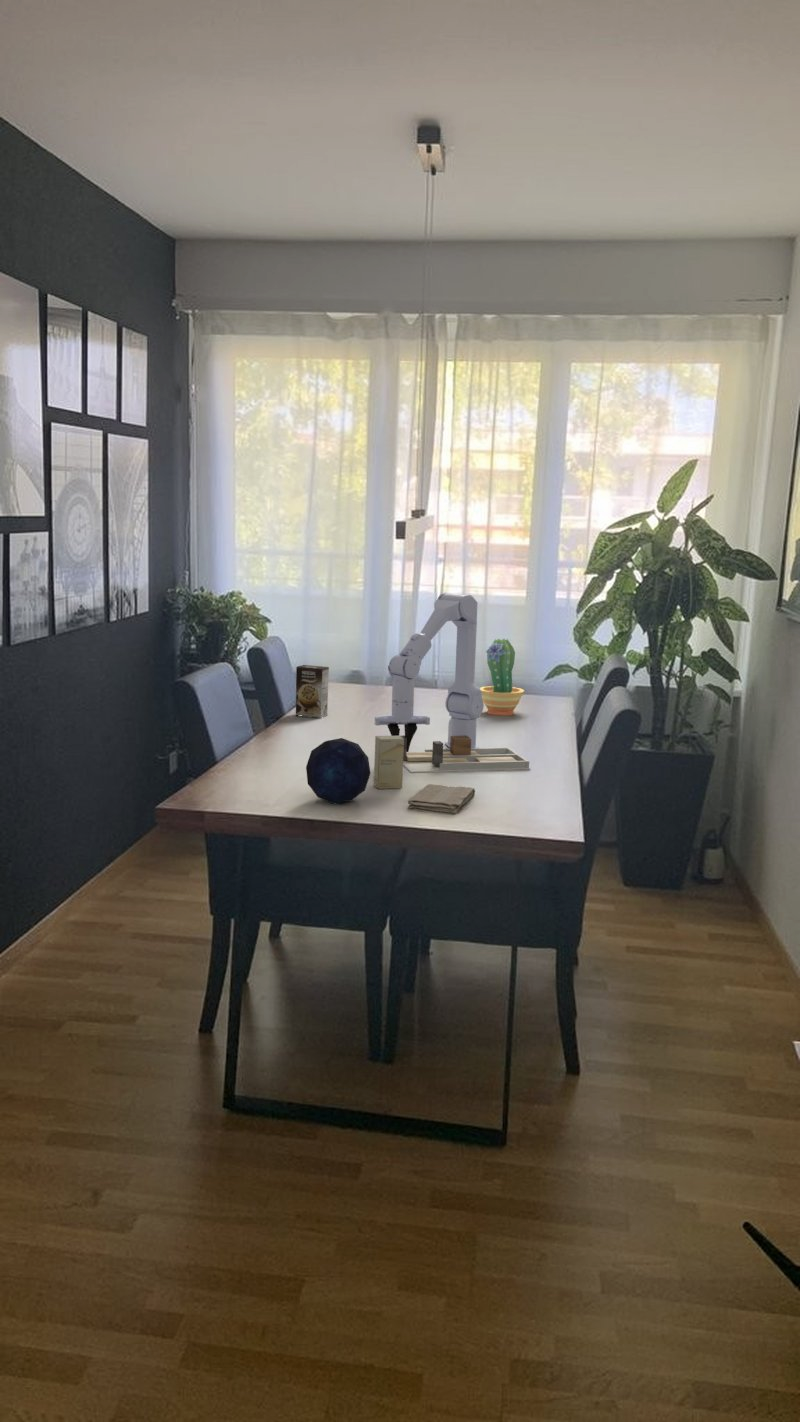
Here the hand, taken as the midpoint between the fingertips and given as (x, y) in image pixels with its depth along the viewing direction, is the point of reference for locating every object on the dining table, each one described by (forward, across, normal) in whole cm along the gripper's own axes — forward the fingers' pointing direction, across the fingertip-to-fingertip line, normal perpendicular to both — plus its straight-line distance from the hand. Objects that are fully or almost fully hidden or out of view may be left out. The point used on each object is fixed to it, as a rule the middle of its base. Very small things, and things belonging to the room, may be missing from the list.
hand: (401, 751), depth 275 cm
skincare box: (+3, -9, -26) cm, 28 cm away
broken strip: (+2, +18, -8) cm, 20 cm away
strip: (+2, +10, 0) cm, 10 cm away
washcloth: (+3, 0, -41) cm, 41 cm away
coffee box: (+3, -15, +66) cm, 68 cm away
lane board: (+3, +16, -4) cm, 16 cm away
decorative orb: (+3, -23, -37) cm, 44 cm away
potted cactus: (+3, +49, +66) cm, 82 cm away
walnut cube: (+1, +16, 0) cm, 16 cm away
